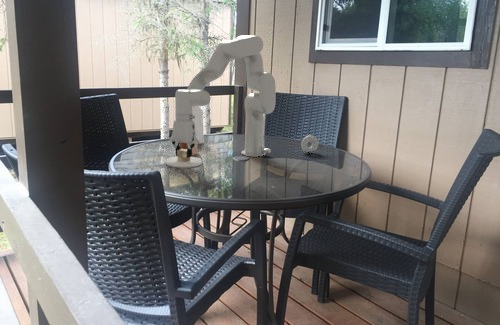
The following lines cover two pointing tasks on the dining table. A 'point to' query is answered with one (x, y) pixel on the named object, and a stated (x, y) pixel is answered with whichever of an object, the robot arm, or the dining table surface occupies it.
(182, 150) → the block
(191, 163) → the plate
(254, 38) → the robot arm
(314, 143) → the donut
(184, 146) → the cover
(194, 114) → the milk
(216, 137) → the dining table surface
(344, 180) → the dining table surface
